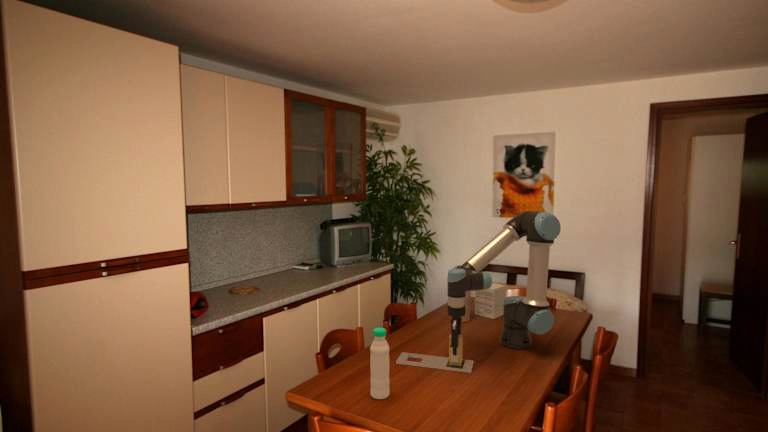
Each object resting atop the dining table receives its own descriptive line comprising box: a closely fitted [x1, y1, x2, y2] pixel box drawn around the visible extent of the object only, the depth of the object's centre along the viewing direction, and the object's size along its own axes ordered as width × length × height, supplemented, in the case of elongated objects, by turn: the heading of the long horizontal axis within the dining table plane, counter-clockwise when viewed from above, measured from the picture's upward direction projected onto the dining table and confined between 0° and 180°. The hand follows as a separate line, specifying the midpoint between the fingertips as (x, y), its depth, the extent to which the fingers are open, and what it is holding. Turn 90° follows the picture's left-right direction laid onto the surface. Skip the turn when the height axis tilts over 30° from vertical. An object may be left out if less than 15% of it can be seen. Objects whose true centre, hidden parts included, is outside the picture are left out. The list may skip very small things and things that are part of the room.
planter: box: [451, 291, 471, 323], centre depth 248 cm, size 10×10×23 cm
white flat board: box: [395, 352, 475, 374], centre depth 189 cm, size 32×10×1 cm, turn 73°
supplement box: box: [474, 282, 507, 320], centre depth 258 cm, size 13×13×18 cm
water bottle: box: [369, 327, 391, 400], centre depth 160 cm, size 7×7×25 cm
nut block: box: [448, 333, 464, 366], centre depth 186 cm, size 5×5×12 cm
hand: (455, 359), depth 186 cm, fingers closed on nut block, 5 cm apart
